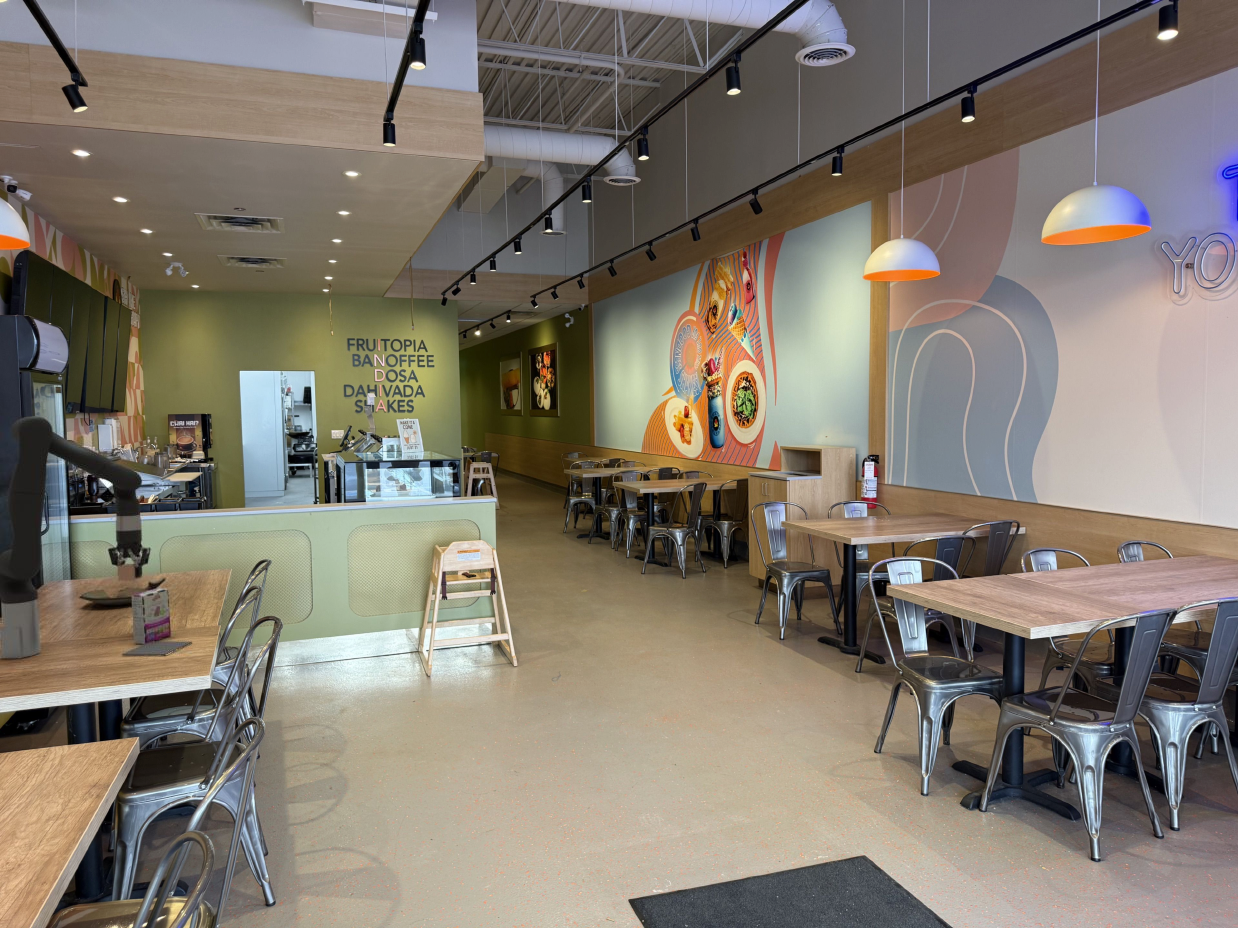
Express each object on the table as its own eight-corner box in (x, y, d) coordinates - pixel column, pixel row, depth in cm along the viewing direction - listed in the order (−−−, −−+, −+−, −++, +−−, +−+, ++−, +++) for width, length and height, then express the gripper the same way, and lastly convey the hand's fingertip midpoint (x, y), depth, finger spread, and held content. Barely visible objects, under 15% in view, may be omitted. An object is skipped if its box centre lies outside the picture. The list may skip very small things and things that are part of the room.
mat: (165, 656, 246) (165, 654, 246) (122, 655, 246) (122, 653, 246) (192, 643, 260) (191, 641, 260) (150, 643, 260) (150, 641, 260)
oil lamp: (80, 602, 320) (79, 584, 320) (165, 593, 337) (164, 575, 336) (78, 614, 302) (77, 594, 301) (168, 603, 318) (168, 584, 317)
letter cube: (132, 580, 270) (132, 565, 269) (118, 580, 270) (117, 565, 270) (142, 577, 275) (141, 562, 274) (128, 577, 275) (127, 562, 275)
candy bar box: (158, 635, 270) (156, 587, 269) (171, 635, 269) (169, 588, 268) (132, 644, 259) (130, 594, 258) (145, 644, 258) (143, 595, 257)
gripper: (100, 529, 268) (102, 579, 269) (141, 529, 267) (143, 579, 268) (115, 526, 275) (117, 575, 276) (155, 527, 275) (157, 575, 276)
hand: (130, 577), depth 272 cm, fingers closed on letter cube, 5 cm apart
